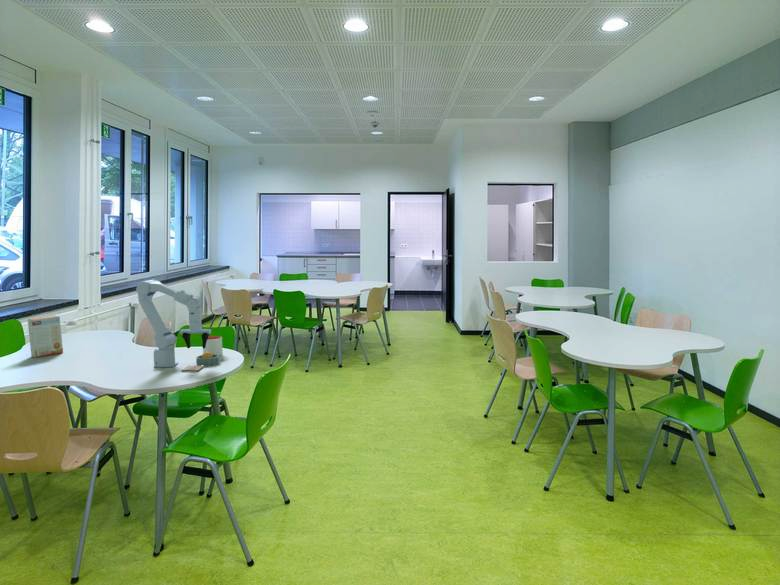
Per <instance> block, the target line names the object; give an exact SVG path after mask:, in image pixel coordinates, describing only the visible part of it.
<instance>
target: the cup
mask: <svg viewBox="0 0 780 585" xmlns="http://www.w3.org/2000/svg"><path fill="white" fill-rule="evenodd" d="M205 352H211V353H212V354H216V355H218V356H219V357H221V356H222V355H223V337H222V336H220V335H211V336H210V335H209V337H208V339H207V342H206V348H203V347H202V354H203V353H205Z"/></svg>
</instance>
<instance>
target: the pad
mask: <svg viewBox="0 0 780 585" xmlns="http://www.w3.org/2000/svg"><path fill="white" fill-rule="evenodd" d="M203 367H204V368H205V366H199V365H187V366H186V367H184V368H182V369H181V372H182V371H198V372H199V370H200V369H201V370H202V369H204V368H203ZM201 370H200V371H201Z"/></svg>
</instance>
